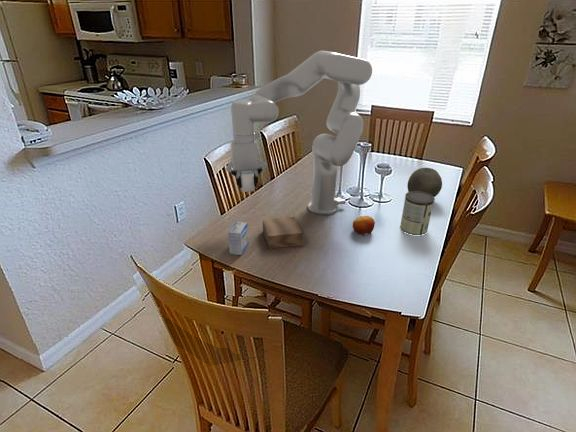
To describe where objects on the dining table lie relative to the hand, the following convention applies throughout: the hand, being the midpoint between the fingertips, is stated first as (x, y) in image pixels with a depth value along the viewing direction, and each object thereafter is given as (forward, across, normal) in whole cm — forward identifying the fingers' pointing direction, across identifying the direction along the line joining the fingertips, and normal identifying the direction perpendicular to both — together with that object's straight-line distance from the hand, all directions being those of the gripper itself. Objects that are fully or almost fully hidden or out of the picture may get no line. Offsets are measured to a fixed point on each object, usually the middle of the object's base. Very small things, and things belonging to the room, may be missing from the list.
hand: (247, 185), depth 137 cm
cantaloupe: (+19, -78, -7) cm, 80 cm away
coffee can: (+18, -61, +16) cm, 66 cm away
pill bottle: (+1, 0, 0) cm, 1 cm away
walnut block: (+17, -10, +12) cm, 23 cm away
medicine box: (+16, +6, +16) cm, 24 cm away
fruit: (+18, -41, +14) cm, 47 cm away
